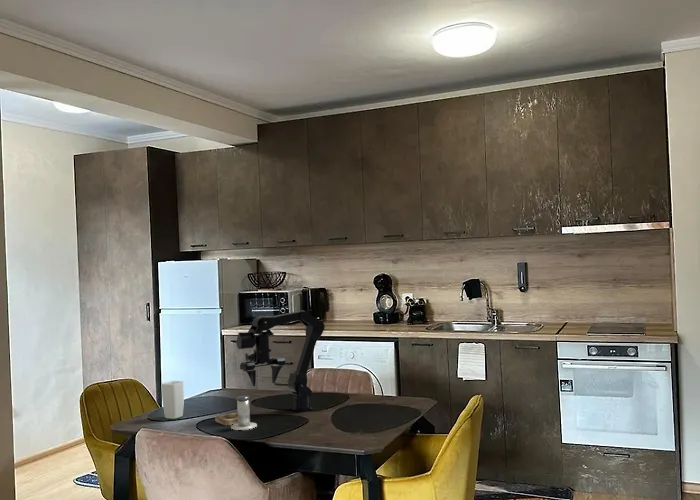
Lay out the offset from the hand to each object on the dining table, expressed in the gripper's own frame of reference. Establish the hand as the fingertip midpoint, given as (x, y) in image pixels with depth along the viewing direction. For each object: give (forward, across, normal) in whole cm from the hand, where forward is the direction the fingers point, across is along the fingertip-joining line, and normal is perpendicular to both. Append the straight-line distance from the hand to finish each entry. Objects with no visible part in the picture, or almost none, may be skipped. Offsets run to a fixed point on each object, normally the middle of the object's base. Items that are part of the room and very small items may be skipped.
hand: (263, 384), depth 267 cm
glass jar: (+12, +15, +10) cm, 22 cm away
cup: (+13, +29, -26) cm, 41 cm away
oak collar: (+13, +14, -2) cm, 19 cm away
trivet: (+13, +15, +10) cm, 22 cm away
